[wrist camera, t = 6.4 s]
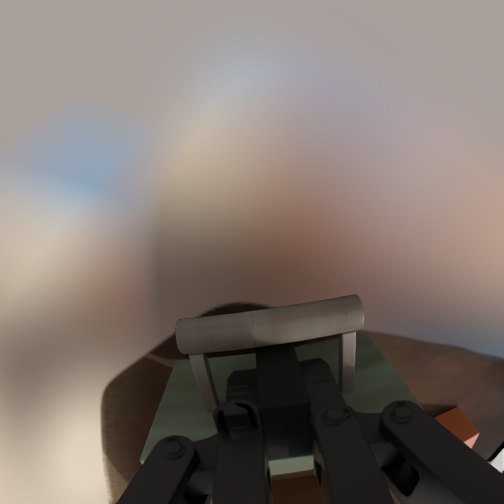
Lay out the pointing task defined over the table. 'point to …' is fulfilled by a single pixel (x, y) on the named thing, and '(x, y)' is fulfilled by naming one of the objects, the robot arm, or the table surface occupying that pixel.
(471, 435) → the block
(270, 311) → the drawer
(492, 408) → the table surface
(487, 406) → the table surface
